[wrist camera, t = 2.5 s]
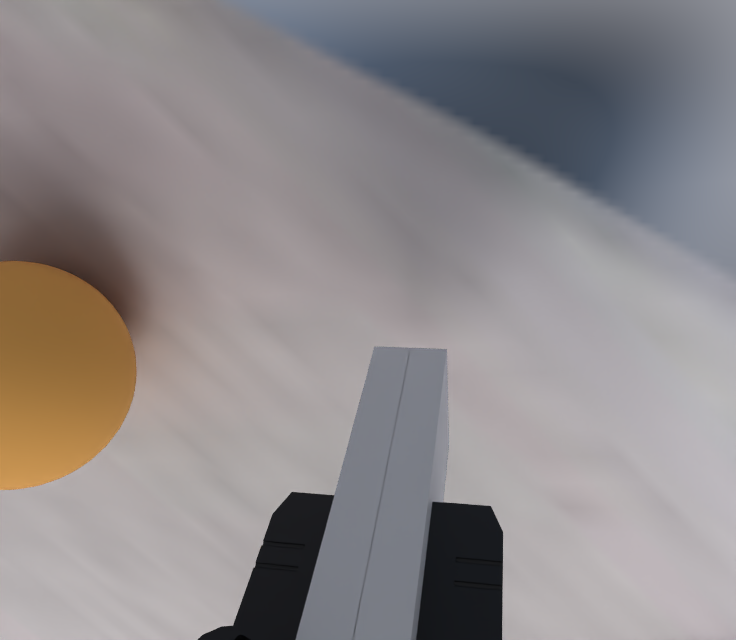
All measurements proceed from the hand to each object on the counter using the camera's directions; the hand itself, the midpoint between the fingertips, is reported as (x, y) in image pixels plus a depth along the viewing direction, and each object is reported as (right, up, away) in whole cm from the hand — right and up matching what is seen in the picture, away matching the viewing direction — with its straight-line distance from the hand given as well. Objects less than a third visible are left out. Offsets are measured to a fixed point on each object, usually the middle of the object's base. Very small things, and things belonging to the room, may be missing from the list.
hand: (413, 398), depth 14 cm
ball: (-10, 0, +2) cm, 10 cm away
